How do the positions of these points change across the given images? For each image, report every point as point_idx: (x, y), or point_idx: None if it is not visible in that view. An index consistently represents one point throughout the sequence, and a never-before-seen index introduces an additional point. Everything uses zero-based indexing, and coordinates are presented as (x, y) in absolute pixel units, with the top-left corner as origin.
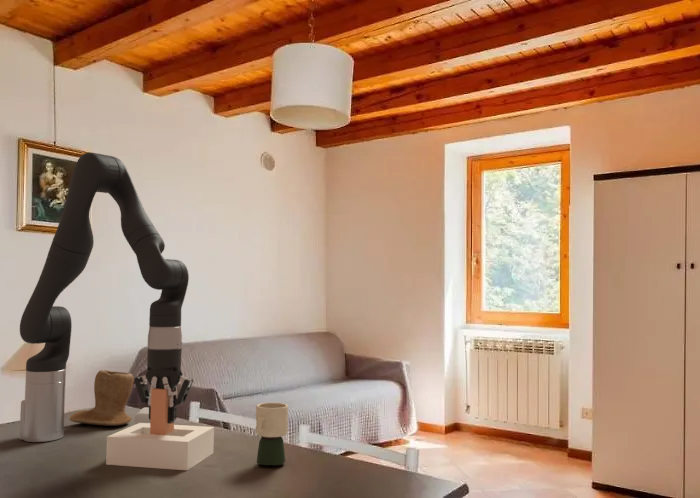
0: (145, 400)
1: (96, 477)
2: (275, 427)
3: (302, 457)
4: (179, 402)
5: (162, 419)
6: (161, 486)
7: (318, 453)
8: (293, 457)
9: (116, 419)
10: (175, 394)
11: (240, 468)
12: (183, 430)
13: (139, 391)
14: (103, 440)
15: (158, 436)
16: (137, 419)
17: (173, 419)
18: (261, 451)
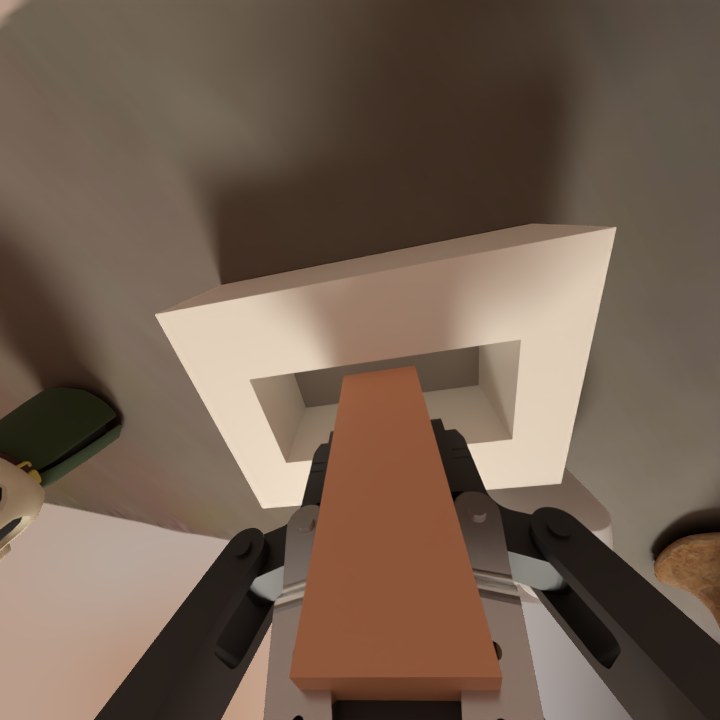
0: (534, 528)
1: (474, 25)
2: None
3: (90, 475)
4: (236, 544)
5: (350, 419)
6: (134, 57)
7: (92, 504)
8: (104, 470)
9: (700, 557)
10: None
11: (118, 362)
12: None
13: (676, 627)
14: (670, 443)
15: (345, 341)
16: (589, 507)
17: (316, 450)
18: (38, 414)
